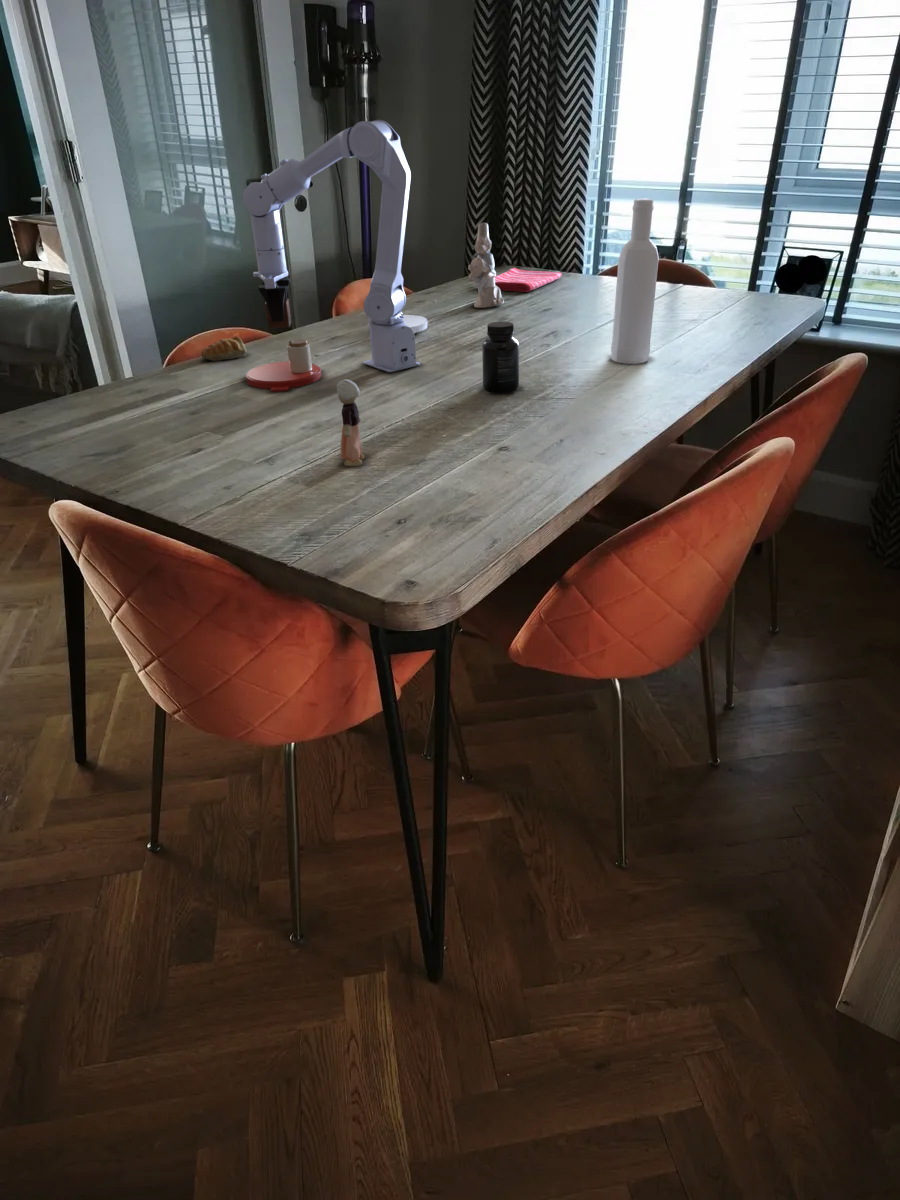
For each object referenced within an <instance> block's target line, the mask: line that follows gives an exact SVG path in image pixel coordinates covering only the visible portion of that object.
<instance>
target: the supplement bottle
mask: <svg viewBox="0 0 900 1200" xmlns="http://www.w3.org/2000/svg"><path fill="white" fill-rule="evenodd" d="M486 326H487V327H486V328H487V332H486V335H487V336H488V337H487V338H486V339H485V340H483V343H482V346H481V347H482V352H481V353H482V354H481V355H482V388H483V390H484V391H485V392H487V393H490V394H495V395H496V394H498V395H499V394H500V395H501V394H502V395H503V394H510V393H514V392H515V391H517V390H518V389H519V385H520V343H519V341H518V340H517V339H516V338H515V337H513V336H514V335H515V331H514V330H515V327H514V326H515V325H514V323H513V322H511V321H493V322H489V323H488V324H487V325H486Z"/></svg>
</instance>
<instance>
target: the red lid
mask: <svg viewBox="0 0 900 1200" xmlns="http://www.w3.org/2000/svg"><path fill="white" fill-rule="evenodd" d="M321 377H322V369H321V368H320V367H319V366H318V365H316V364H314V363H312V370H311V371H309V372H305V373H293V372H291V371H290V364H289V360H287V361H276V362H270V363H264V364H261V365H258V366H254V367H252V368H251V369H249V370H248V371H247V372H246V373H245V381H246V383H247V384H248V386H251V387H254V388H258V389H265V390H270V391H271V393H278V392H289V389H292V388H299V387H303V386H306V385H310V384H312V383H315V382H317V381H318V380H319V379H321Z"/></svg>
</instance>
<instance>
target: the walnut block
mask: <svg viewBox="0 0 900 1200" xmlns="http://www.w3.org/2000/svg"><path fill="white" fill-rule="evenodd" d="M289 300H290V299H289V297H286V298H284V317H283V321H277V322H273V320H272V318H271V315H270V312H269V309H268V306H267V304H266V302H265V303H264V307H265V313H266V320H267V327H268V329H280V328H281V329H283V328H291V325H292V315H291V308H290V301H289Z"/></svg>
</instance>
